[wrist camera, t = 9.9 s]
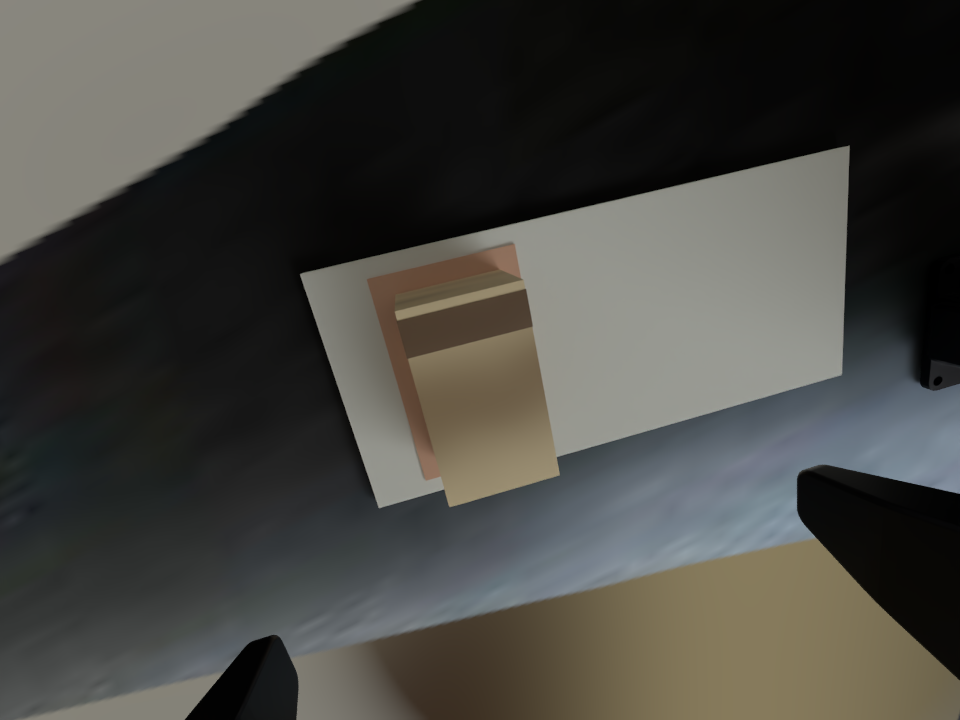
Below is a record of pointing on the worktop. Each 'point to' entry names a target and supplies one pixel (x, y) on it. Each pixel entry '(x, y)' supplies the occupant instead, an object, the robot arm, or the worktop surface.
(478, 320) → the two-tone wooden box
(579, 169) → the worktop surface
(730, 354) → the grey mat
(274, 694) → the robot arm
